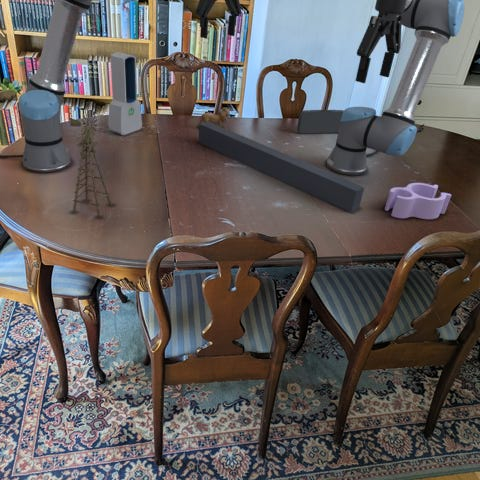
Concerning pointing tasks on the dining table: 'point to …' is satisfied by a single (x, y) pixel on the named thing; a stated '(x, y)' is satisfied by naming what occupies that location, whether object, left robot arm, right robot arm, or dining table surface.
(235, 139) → the post
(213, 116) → the lion figurine
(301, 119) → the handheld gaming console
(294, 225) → the dining table surface
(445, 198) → the clip
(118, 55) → the electronic device
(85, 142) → the miniature windmill
